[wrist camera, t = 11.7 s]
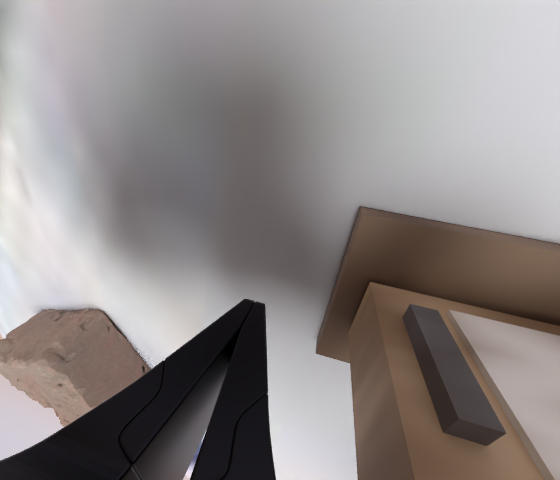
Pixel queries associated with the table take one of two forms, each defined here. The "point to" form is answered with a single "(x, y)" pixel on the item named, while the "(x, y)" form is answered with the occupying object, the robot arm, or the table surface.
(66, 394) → the brick
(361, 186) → the table surface
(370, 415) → the wall mounted shelf tray
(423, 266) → the wooden shelf
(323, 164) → the table surface
